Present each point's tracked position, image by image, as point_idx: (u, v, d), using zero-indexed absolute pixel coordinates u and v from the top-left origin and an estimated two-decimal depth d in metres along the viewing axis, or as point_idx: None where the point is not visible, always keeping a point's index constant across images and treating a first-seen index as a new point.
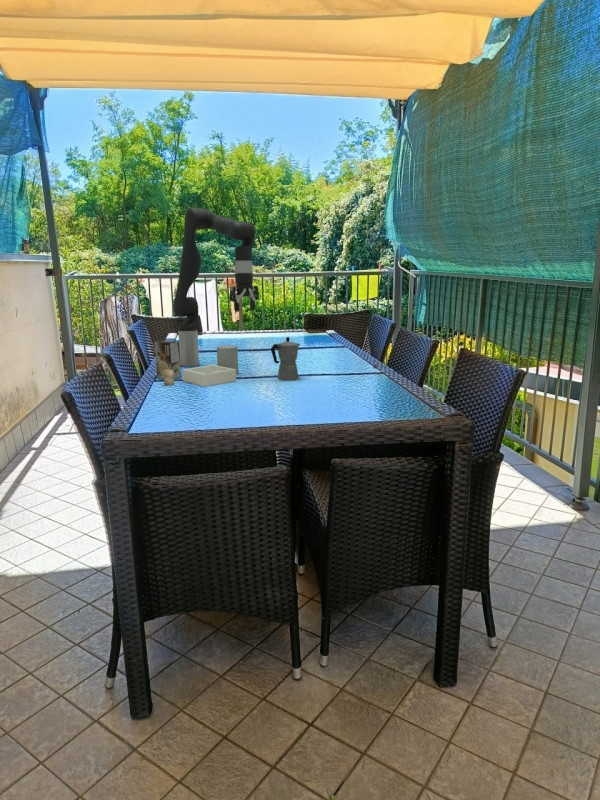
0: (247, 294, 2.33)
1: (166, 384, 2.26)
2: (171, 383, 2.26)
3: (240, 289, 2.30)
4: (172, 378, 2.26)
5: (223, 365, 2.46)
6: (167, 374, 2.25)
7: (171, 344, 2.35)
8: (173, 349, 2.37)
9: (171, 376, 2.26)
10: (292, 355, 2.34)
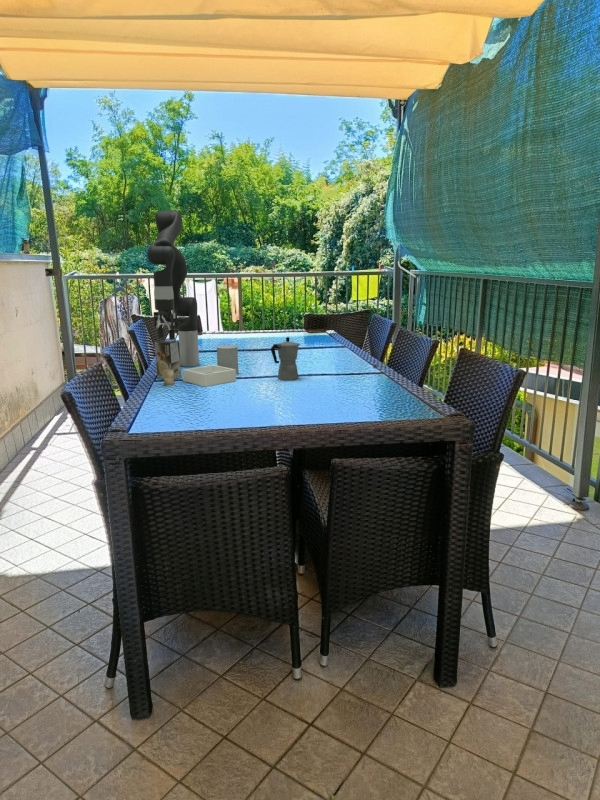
0: None
1: (166, 384, 2.26)
2: (171, 383, 2.26)
3: None
4: (172, 378, 2.26)
5: (223, 365, 2.46)
6: (167, 374, 2.25)
7: (171, 344, 2.35)
8: (173, 349, 2.37)
9: (171, 376, 2.26)
10: (292, 355, 2.34)
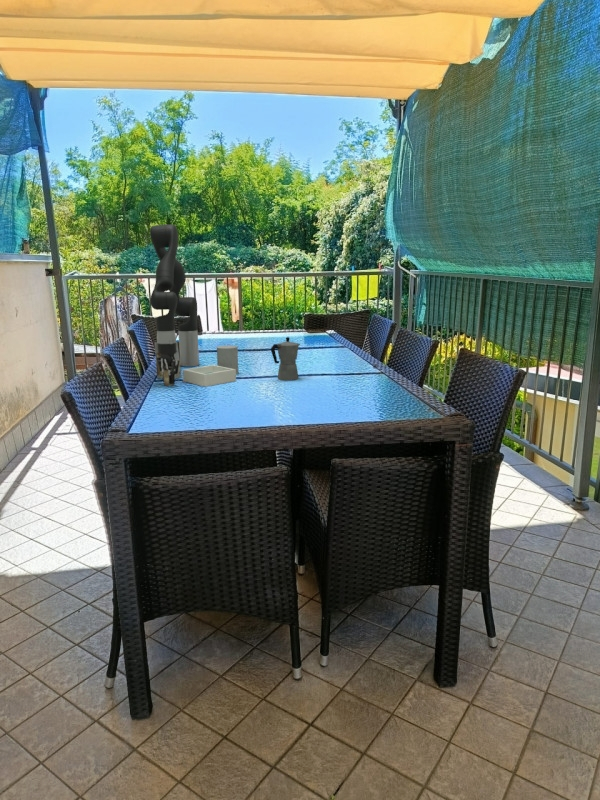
0: None
1: (166, 384, 2.26)
2: None
3: None
4: None
5: (223, 365, 2.46)
6: (167, 374, 2.25)
7: None
8: None
9: None
10: (292, 355, 2.34)
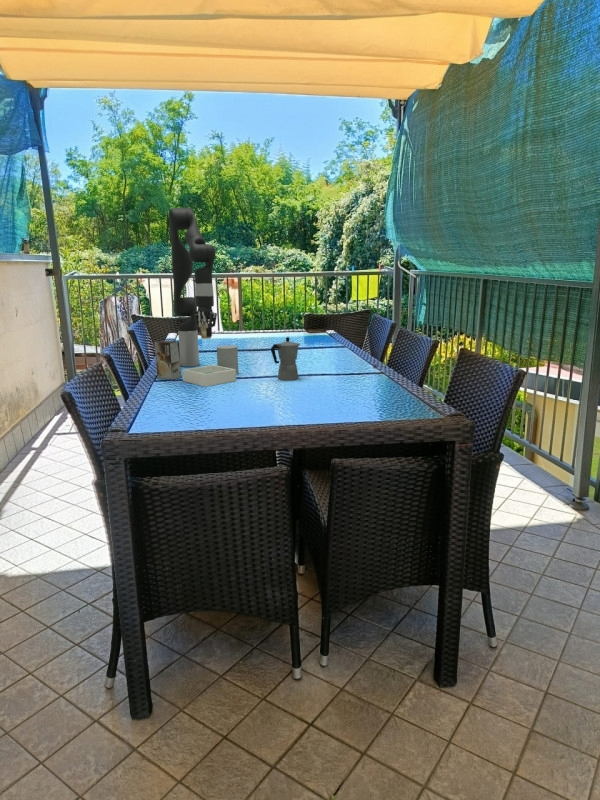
0: None
1: (203, 337, 2.28)
2: None
3: None
4: None
5: (223, 365, 2.46)
6: (205, 327, 2.27)
7: (171, 344, 2.35)
8: (173, 349, 2.37)
9: None
10: (292, 355, 2.34)
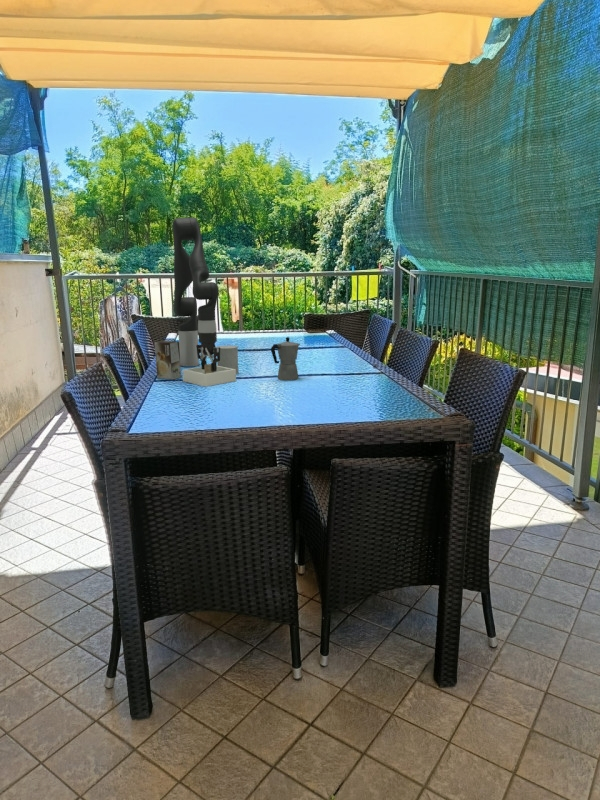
0: None
1: None
2: None
3: None
4: (213, 372, 2.33)
5: (223, 365, 2.46)
6: (208, 369, 2.31)
7: (171, 344, 2.35)
8: (173, 349, 2.37)
9: None
10: (292, 355, 2.34)
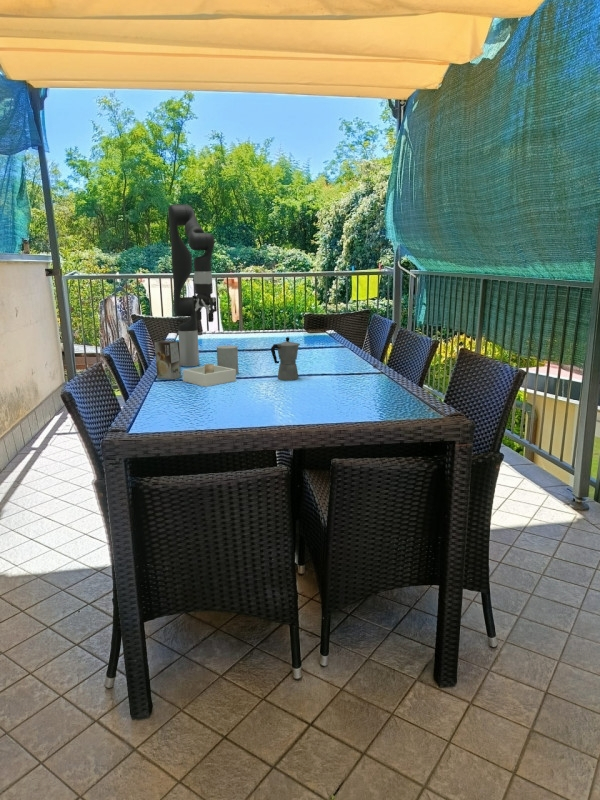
0: None
1: None
2: None
3: None
4: (213, 372, 2.33)
5: (223, 365, 2.46)
6: (209, 368, 2.31)
7: (171, 344, 2.35)
8: (173, 349, 2.37)
9: (212, 370, 2.32)
10: (292, 355, 2.34)
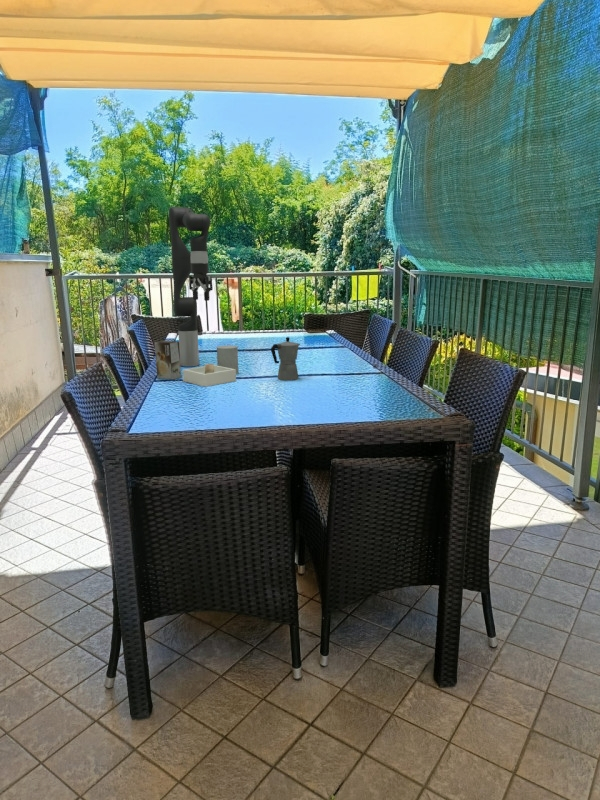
0: None
1: None
2: None
3: None
4: (213, 372, 2.33)
5: (223, 365, 2.46)
6: (210, 369, 2.31)
7: (171, 344, 2.35)
8: (173, 349, 2.37)
9: (213, 370, 2.32)
10: (292, 355, 2.34)
